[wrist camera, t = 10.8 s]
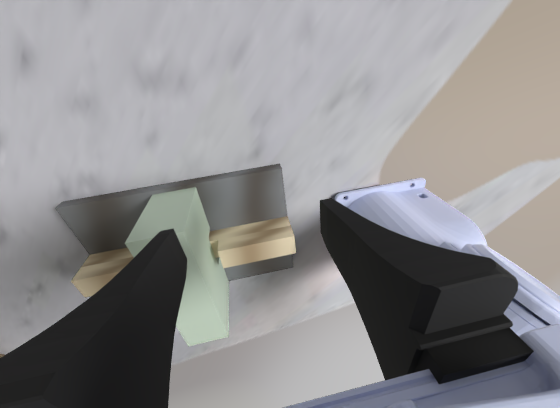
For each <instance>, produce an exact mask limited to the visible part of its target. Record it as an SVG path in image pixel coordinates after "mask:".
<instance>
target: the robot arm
mask: <svg viewBox="0 0 560 408" xmlns="http://www.w3.org/2000/svg"><path fill="white" fill-rule="evenodd" d="M410 184H412V185H410ZM425 184H426V180H425V179H423V178H416V179H411V180H405V181H400V182H395V183H390V184H385V185H379V186H374V187H369V188H363V189H358V190H353V191H348V192H342V193H338V194H337V195H336V196H335V200H334V199H332V198H330V199H325V200H320V223H321V234H322V237H323V240H324V242H325V245H326V247H327V249H328V251H329V253H330V255H331V257H332V259H333V260H334V262H335V264H336V266H337V268H338V269H339V271H340V273H341V275H342V277H343V278H344V280H345V282H346V284H347V286H348V288H349V290H350V292H351V294H352V296H353V298H354V301H355V303H356V305H357V308H358V310H359V313H360V315H361V318H362V320H363V322H364V325H365V327H366V330H367V332H368V335H369V338H370V340H371V343H372V345H373V348H374V351H375V353H376V356H377V359H378V362H379V364H380V367H381V370H382V372H383V375H384V378H385V381H381V382H377V383H374V384H370V385H366V386H362V387H359V388H355V389H351V390H348V391H344V392H340V393H336V394H333V395H328V396H325V397H321V398H317V399H313V400H310V401H306V402H302V403H298V404H295V405H291V406H287V407H284V408H560V296H559V295H558V294H556V293H555V292H554V291H552V290H551V289H550V288H548V287H547V286H546V285H544V284H543V283H541V282H540V281H539V280H537V279H536V278H534V277H533V276H532V275H530V274H529V273H527V272H525V271H524V270H523V269H521V268H520V267H519V266H517V265H516V264H514V263H513V262H511V261H510V260H508V259H507V258H505V257H504V256H502V255H501V254H499V253H497V252H496V251H494V250H493V249H491V248H489V247H488V246H487V243H486V240H485V238H484V236H483V234H482V232H481V231H480V229H479V228H478V226H477V225H476V224H475V223H474V222H473V221H472V220H471V219H470V218H468V217H467V216H466V215H464V214H463V213H461V212H460V211H458V210H457V209H455V208H454V207H452V206H451V205H449V204H448V203H446V202H445V201H443V200H442V199H440V198H439V197H437V196H436V195H435V194H433V193H432V192H430V191H429V190H427V189H425ZM345 196H347V197H346V198H344V197H345ZM186 273H187V257H186V255H185V253H184V251H183V248H182V246H181V244H180V242H179V239H178V237H177V235H176V233H175V231H174V228H173V229H168V230H163V231H160V232H159V233H158V234H157V235H156V236H155V237H154V238H153V239H152V240H151V241H150V242H149V243H148V244H147V245H146V246H145V247H144V248H143V249H142V250H141V251H140V252H139V253H138V254H137V255H136V256H135V257H134V258H133V259H132V260H131V261H130V262H129V263H128V264H127V265H126V266H125V267H124V268H123V269H122V270H121V271H120V272H119V273H118V274H117V275H116V276H115V277H114V278H113V279H111V280H110V281H109V282H108V283H107V284H106V285H105V286H103V287H102V288H101V289H100V290H99V291H98V292H96V293H95V294H94V295H93V296H91V297H90V298H89V299H88V300H86V301H85V302H84V303H83V304H81V305H80V306H78V307H77V308H76V309H74V310H73V311H72V312H70V313H69V314H67V315H66V316H65V317H63V318H62V319H61V320H59V321H58V322H56V323H55V324H54V325H52V326H51V327H49V328H48V329H46V330H45V331H43V332H42V333H40V334H39V335H37V336H35V337H34V338H32V339H31V340H29V341H28V342H26V343H24V344H23V345H21V346H20V347H18V348H16V349H15V350H13V351H11V352H10V353H8V354H6V355H5V356H3V357H1V358H0V408H168V398H169V381H170V370H171V359H172V350H173V341H174V332H175V327H176V322H177V317H178V313H179V308H180V304H181V299H182V295H183V290H184V286H185V281H186Z"/></svg>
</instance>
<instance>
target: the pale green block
mask: <svg viewBox="0 0 560 408" xmlns="http://www.w3.org/2000/svg"><path fill="white" fill-rule="evenodd" d="M173 228H174V231H175V233H176V235H177V237H178V239H179V242H180V244H181V246H182V248H183V251H184V253H185V255H186V257H187V273H186V281H185V286H184V290H183V295H182V299H181V304H180V308H179V313H178V317H177V322H176V327H177V329H178V330H179V332H180V334H181V335H182V337H183V338H184V340H185V342H186V343H187V345H188V346H192V345H197V344H201V343H205V342H209V341H214V340H218V339H222V338H226V337H229V282H228V279H227V276H226V273H225V270H224V268H223V266H222V263H221V260H220V257H218V258H216V257H215V254H214V252H213V249H212V246H211V243H210V240H209V232H210V226H209V224H208V221H207V218H206V215H205V212H204V209H203V206H202V203H201V200H200V198H199V195H198V192H197V189H196V187H193V188H188V189H182V190H176V191H171V192H165V193H160V194H154V195H152V196H151V198H150V200H149V202H148V203H147V205H146V207H145V209H144V210H143V212H142V214H141V216H140V217H139V219H138V221H137V223H136V224H135V226H134V228H133V230H132V231H131V233H130V235H129V237H128V238H127V240H126V242H125V244H126V246H127V248H128V249H129V251H130V252H131V254H132V256H133V257H135V256H136V255H137V254H138V253H139V252H140V251H141V250H142V249H143V248H144V247H145V246H146V245H147V244H148V243H149V242H150V241H151V240H152V239H153V238H154V237H155V236H156V235H157V234H158V233H159V232H160V231H163V230H168V229H173Z"/></svg>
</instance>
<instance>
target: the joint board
mask: <svg viewBox="0 0 560 408" xmlns="http://www.w3.org/2000/svg"><path fill="white" fill-rule="evenodd" d="M193 187H196V189H197V192H198V195H199V198H200V200H201V203H202V206H203V209H204V212H205V215H206V218H207V221H208V224H209V226H210V232H209V240H210V243H211V246H212V249H213V252H214V254H215V257H216V258H218V257H220V260H221V263H222V266H223V268H224V270H225V273H226V276H227V279H228V281H231V280H236V279H241V278H245V277H250V276H255V275H259V274H264V273H269V272H273V271H278V270H283V269H287V268H292V267H293V260H292V254H294V253H296V247H295V238H294V234H293V231H292V228H291V225H290V222H289V220H288V217H287V209H286V201H285V192H284V184H283V175H282V168H281V166H280V164H276V165H270V166H264V167H259V168H253V169H247V170H242V171H236V172H230V173H224V174H219V175H213V176H207V177H202V178H196V179H190V180H184V181H179V182H173V183H167V184H162V185H156V186H150V187H145V188H139V189H133V190H127V191H122V192H116V193H110V194H105V195H99V196H93V197H87V198H82V199H76V200H70V201H65V202H62V203H61V204H60V205H59V206H57V207H56V208H55V209H56V210H57V211H58V213H59V214H60V215H61V217H62V218H63V220H64V221H65V222H66V224H67V225H68V226H69V228H70V229H71V230H72V232H73V233H74V234H75V236H76V237H77V238H78V240H79V241H80V242H81V244H82V245H83V246H84V248H85V249H86V250H87V252H88V253H89V254H90V255H89V257H88V258H87V259H86V261H85V262H84V264H83V265H82V266H81V268H80V269H79V271H78V272H77V273H76V275H75V276H74V278H73V279H72V280H71V282H72V283H73V284H74V286H75V287H76V288H77V289H78V290H79V291H80V292H81V294H82V295H83V296H84V297H89V296H93V295H94V294H95V293H96V292H98V291H99V290H100V289H101V288H102V287H103V286H105V285H106V284H107V283H108V282H109V281H110V280H111V279H113V278H114V277H115V276H116V275H117V274H118V273H119V272H120V271H121V270H122V269H123V268H124V267H125V266H126V265H127V264H128V263H129V262H130V261H131V260H132V259H133V258H134V257H133V256H132V254H131V252H130V251H129V249H128V248H127V246H126V244H125V242H126V240H127V238H128V237H129V235H130V233H131V231H132V230H133V228H134V226H135V224H136V223H137V221H138V219H139V217H140V216H141V214H142V212H143V210H144V209H145V207H146V205H147V203H148V202H149V200H150V198H151V196H152V195H154V194H160V193H165V192H171V191H176V190H182V189H188V188H193Z"/></svg>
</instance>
